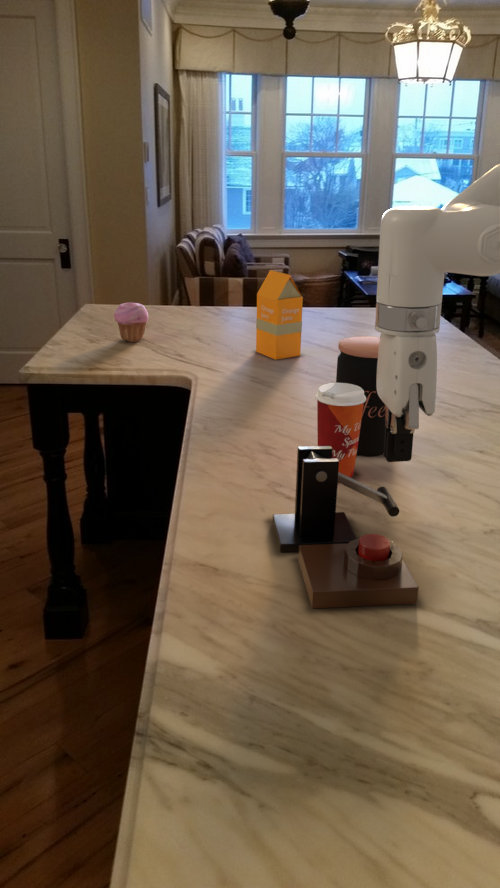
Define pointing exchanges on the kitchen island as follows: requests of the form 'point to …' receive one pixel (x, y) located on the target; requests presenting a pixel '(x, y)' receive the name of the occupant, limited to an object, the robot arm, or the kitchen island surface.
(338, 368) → the coffee jar
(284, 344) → the orange juice
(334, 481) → the bracket
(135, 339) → the cupcake
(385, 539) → the button
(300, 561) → the button block
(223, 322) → the kitchen island surface
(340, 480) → the tap lever
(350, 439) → the paper cup
